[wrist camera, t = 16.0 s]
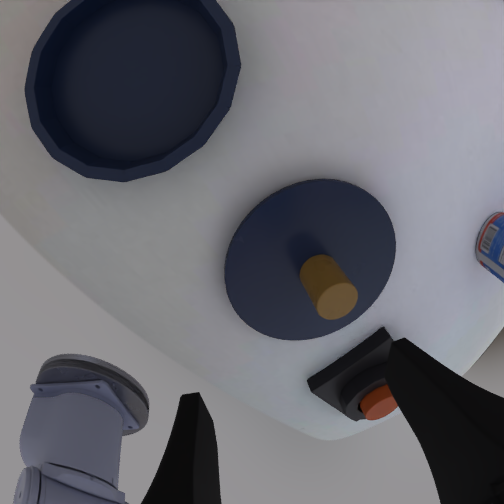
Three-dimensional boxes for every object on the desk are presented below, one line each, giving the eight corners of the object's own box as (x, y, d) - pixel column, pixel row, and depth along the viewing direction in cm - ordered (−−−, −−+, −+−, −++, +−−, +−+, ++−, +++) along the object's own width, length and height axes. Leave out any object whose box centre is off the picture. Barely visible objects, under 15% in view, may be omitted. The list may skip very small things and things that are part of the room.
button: (353, 401, 24) (359, 414, 22) (387, 378, 23) (395, 391, 22) (367, 412, 25) (373, 424, 24) (398, 391, 25) (405, 402, 23)
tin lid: (241, 345, 22) (250, 391, 18) (205, 196, 17) (207, 226, 13) (382, 307, 23) (409, 343, 19) (389, 164, 17) (432, 184, 14)
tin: (69, 191, 15) (52, 205, 13) (37, 28, 10) (16, 21, 8) (247, 145, 16) (255, 152, 14) (217, -28, 11) (220, -46, 9)
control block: (306, 380, 25) (316, 406, 22) (383, 326, 24) (400, 350, 21) (351, 412, 30) (361, 433, 27) (412, 370, 28) (425, 390, 25)
